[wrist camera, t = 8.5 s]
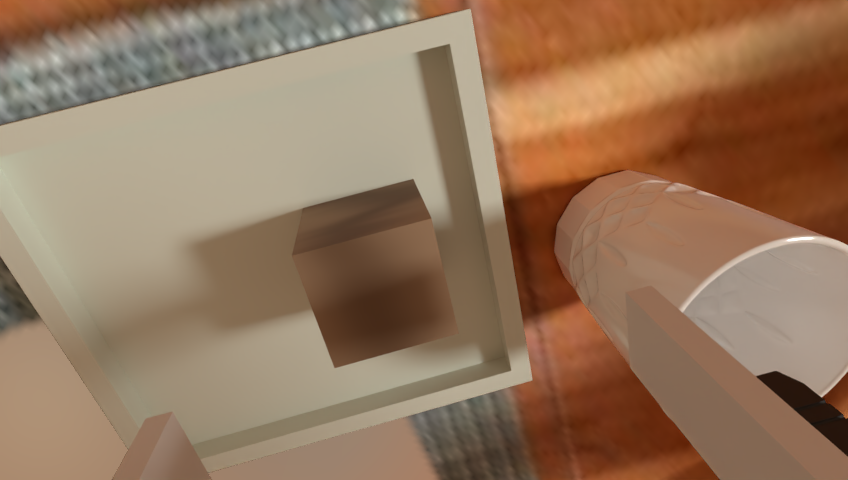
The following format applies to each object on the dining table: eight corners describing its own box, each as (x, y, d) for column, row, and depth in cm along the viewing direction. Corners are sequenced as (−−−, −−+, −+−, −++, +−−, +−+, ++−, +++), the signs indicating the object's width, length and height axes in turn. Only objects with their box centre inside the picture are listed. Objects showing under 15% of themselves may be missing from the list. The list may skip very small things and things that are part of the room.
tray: (459, 10, 20) (470, 8, 18) (520, 357, 28) (532, 380, 26) (-35, 133, 19) (-74, 144, 17) (166, 457, 27) (153, 488, 25)
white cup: (510, 250, 25) (606, 378, 16) (620, 124, 23) (800, 186, 14) (610, 323, 28) (742, 468, 19) (716, 215, 26) (918, 317, 17)
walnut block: (413, 178, 22) (431, 218, 17) (437, 275, 24) (458, 333, 19) (302, 207, 22) (291, 255, 17) (336, 303, 24) (334, 368, 19)
